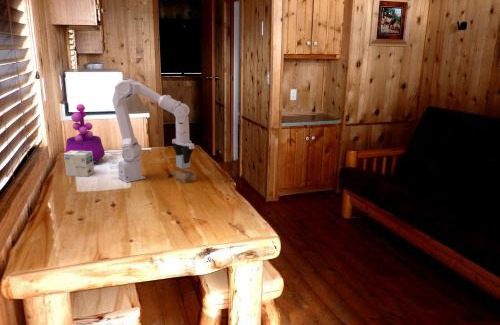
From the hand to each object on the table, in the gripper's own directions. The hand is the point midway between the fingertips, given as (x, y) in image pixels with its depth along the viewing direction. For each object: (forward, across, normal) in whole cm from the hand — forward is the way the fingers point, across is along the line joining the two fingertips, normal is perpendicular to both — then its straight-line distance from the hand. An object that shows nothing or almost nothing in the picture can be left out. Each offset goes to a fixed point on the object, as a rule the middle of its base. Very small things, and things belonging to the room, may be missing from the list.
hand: (183, 161), depth 180 cm
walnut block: (+9, 0, -1) cm, 9 cm away
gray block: (+2, 0, 0) cm, 2 cm away
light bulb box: (+8, +38, +32) cm, 50 cm away
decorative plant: (+8, +57, +22) cm, 62 cm away
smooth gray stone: (+9, +9, -3) cm, 13 cm away
